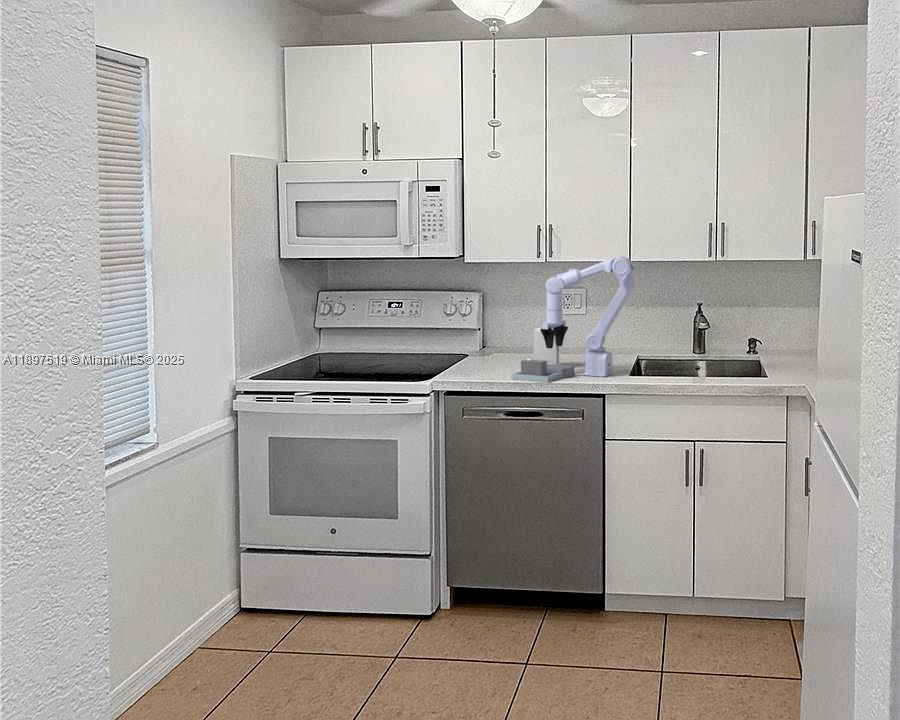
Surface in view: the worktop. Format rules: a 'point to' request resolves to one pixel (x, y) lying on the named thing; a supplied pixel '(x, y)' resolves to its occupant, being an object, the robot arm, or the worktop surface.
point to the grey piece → (545, 349)
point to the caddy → (534, 367)
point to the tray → (536, 377)
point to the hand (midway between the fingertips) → (554, 347)
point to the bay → (561, 370)
